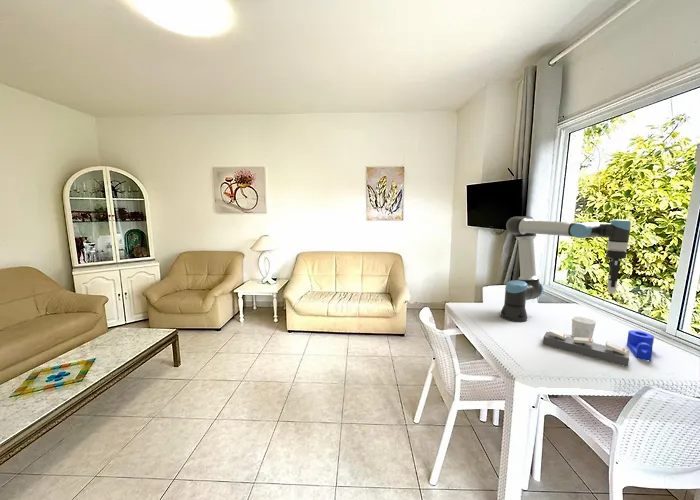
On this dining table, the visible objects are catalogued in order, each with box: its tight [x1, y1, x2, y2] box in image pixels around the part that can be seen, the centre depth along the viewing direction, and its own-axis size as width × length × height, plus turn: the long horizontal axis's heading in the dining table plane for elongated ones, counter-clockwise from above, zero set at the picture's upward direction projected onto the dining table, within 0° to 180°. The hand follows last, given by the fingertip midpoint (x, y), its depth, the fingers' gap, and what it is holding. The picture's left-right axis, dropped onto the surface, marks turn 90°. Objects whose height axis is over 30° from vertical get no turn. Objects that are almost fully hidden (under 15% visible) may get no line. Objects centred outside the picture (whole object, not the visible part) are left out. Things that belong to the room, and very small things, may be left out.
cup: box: [571, 316, 597, 338], centre depth 159 cm, size 10×10×10 cm
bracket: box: [626, 329, 655, 362], centre depth 143 cm, size 20×9×8 cm, turn 141°
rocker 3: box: [605, 341, 627, 355], centre depth 135 cm, size 7×4×1 cm, turn 48°
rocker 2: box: [573, 337, 594, 344], centre depth 143 cm, size 7×4×1 cm, turn 48°
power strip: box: [542, 331, 630, 367], centre depth 143 cm, size 32×9×5 cm, turn 48°
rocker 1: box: [548, 328, 568, 340], centre depth 150 cm, size 7×4×1 cm, turn 48°
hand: (611, 290), depth 153 cm, fingers open, 13 cm apart
